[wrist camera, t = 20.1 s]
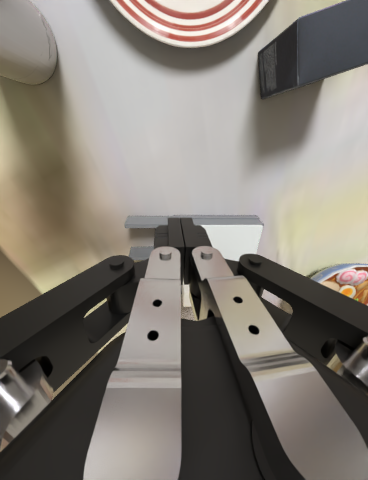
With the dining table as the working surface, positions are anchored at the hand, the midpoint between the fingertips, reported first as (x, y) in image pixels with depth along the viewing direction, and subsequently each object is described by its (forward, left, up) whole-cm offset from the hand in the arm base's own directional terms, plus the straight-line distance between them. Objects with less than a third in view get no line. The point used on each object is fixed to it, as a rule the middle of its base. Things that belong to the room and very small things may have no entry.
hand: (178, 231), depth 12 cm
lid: (+10, -14, -23) cm, 29 cm away
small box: (+19, +15, -27) cm, 36 cm away
